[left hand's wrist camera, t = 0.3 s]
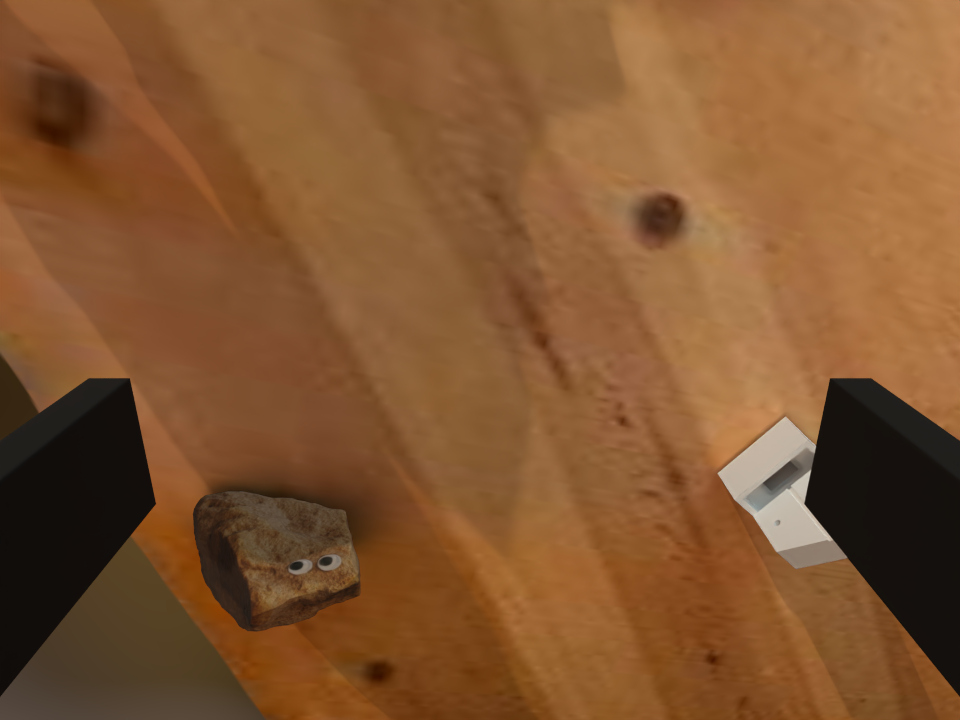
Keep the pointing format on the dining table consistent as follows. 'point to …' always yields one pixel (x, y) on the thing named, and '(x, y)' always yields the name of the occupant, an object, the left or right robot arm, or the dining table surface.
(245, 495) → the decorative rock
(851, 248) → the dining table surface
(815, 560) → the white wedge bracket
